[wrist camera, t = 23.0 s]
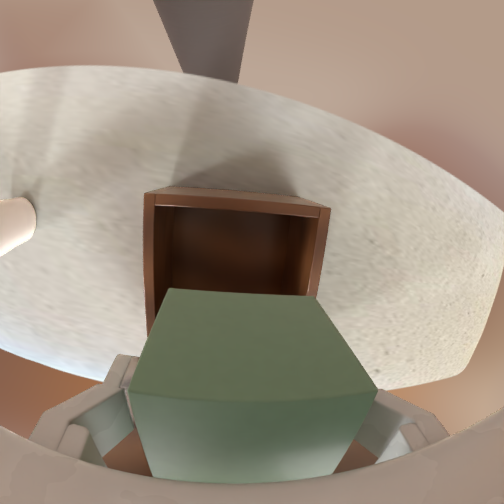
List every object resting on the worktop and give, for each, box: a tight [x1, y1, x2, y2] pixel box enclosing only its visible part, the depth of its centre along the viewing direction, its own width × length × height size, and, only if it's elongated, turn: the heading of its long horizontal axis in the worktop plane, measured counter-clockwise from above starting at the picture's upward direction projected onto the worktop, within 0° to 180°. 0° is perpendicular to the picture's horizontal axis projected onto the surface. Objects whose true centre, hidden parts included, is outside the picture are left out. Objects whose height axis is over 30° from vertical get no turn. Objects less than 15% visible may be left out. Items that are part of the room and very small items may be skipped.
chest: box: [143, 186, 331, 338], centre depth 24 cm, size 16×13×9 cm
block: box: [127, 288, 378, 484], centre depth 8 cm, size 5×5×5 cm
